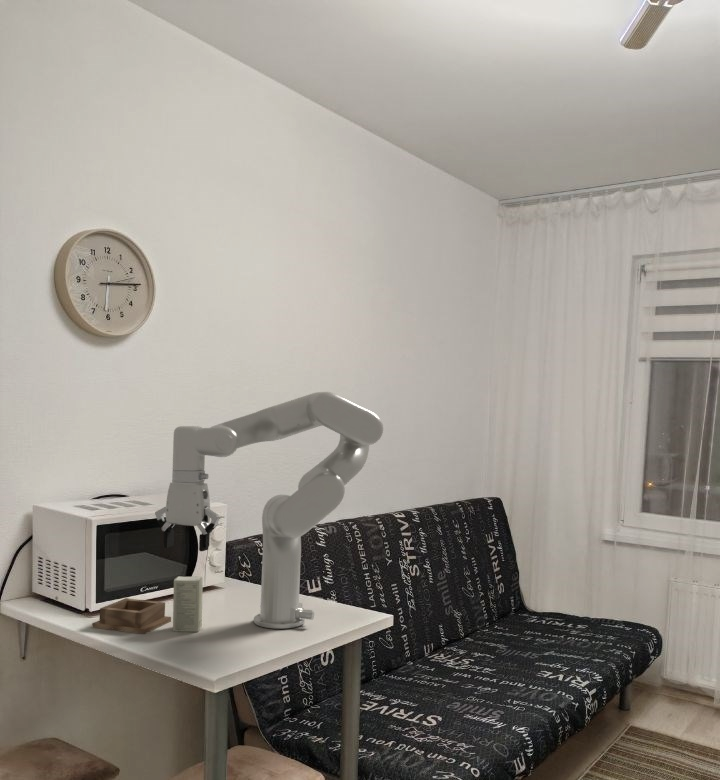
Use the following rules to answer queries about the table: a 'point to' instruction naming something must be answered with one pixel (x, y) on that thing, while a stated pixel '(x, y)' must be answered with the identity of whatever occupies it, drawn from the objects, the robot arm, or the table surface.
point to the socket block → (132, 616)
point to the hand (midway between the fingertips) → (186, 548)
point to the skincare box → (187, 604)
